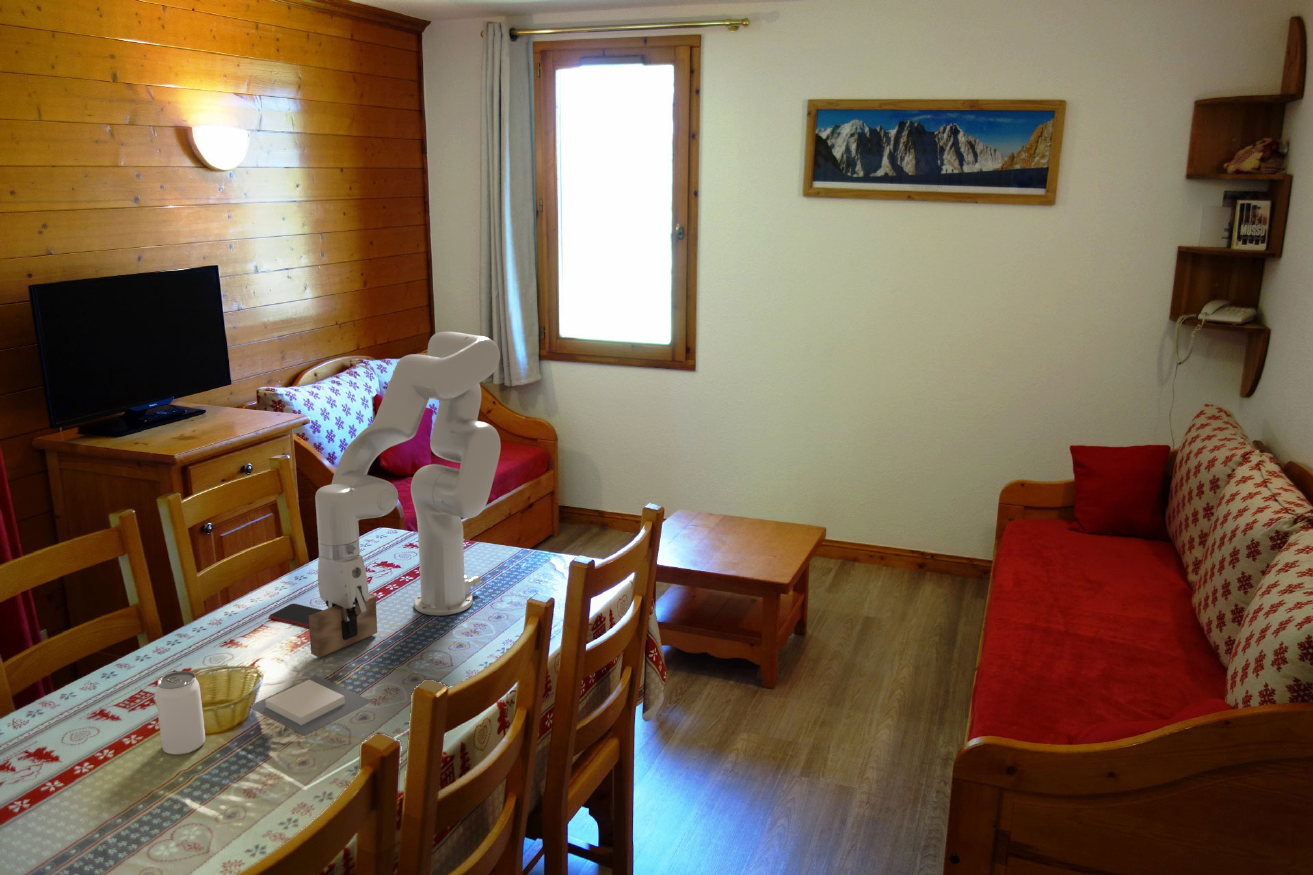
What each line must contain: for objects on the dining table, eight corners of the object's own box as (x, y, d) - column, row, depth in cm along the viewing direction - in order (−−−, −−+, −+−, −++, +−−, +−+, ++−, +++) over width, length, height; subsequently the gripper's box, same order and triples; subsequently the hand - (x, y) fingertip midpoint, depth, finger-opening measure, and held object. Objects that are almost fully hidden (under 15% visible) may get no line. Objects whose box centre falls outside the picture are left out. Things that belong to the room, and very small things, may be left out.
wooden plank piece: (369, 629, 203) (367, 593, 201) (377, 632, 201) (375, 596, 199) (311, 653, 191) (308, 615, 189) (319, 657, 190) (316, 618, 188)
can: (177, 760, 158) (169, 693, 155) (154, 748, 162) (145, 682, 159) (214, 742, 164) (206, 676, 161) (190, 730, 167) (182, 666, 164)
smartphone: (292, 602, 216) (346, 615, 210) (293, 606, 216) (347, 619, 210) (267, 615, 209) (322, 629, 204) (267, 619, 210) (322, 633, 204)
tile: (309, 679, 180) (265, 699, 173) (344, 695, 175) (300, 717, 168) (309, 687, 181) (266, 707, 174) (345, 704, 175) (301, 726, 168)
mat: (315, 676, 185) (315, 675, 185) (371, 703, 176) (371, 701, 176) (248, 708, 174) (248, 706, 174) (304, 737, 165) (304, 735, 165)
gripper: (382, 551, 190) (387, 639, 195) (329, 533, 199) (334, 618, 203) (350, 563, 184) (356, 653, 189) (296, 544, 193) (303, 630, 197)
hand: (344, 634), depth 196 cm, fingers closed on wooden plank piece, 2 cm apart
